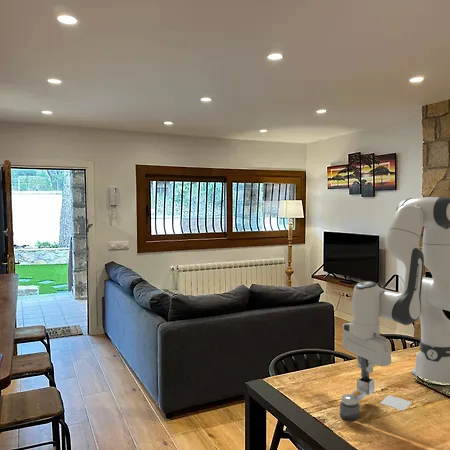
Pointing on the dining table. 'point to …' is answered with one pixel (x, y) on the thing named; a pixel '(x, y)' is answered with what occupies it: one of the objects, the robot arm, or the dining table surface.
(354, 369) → the dining table surface
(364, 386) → the crank
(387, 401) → the mat
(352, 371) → the dining table surface
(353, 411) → the crank post
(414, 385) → the dining table surface
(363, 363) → the dark grey post
